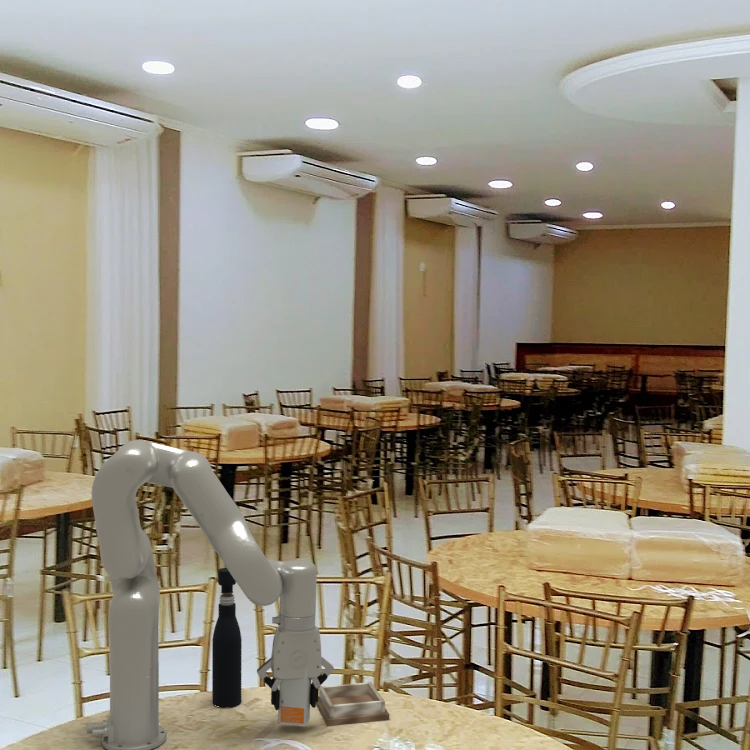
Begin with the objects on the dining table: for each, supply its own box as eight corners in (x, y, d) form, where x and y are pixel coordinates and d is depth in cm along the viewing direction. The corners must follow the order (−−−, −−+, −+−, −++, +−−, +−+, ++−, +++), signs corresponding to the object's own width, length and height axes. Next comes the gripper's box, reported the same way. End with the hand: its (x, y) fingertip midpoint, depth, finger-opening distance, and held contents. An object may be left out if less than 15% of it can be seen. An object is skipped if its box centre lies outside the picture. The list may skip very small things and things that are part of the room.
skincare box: (277, 724, 192) (279, 666, 192) (282, 716, 197) (284, 660, 196) (306, 727, 192) (308, 669, 191) (310, 719, 196) (312, 662, 196)
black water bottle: (235, 709, 205) (235, 573, 204) (207, 706, 206) (208, 572, 205) (245, 698, 211) (245, 566, 210) (218, 696, 212) (218, 565, 211)
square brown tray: (327, 725, 196) (327, 708, 196) (314, 702, 209) (314, 685, 209) (389, 719, 199) (389, 702, 199) (373, 696, 213) (373, 680, 212)
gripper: (257, 628, 188) (255, 716, 188) (341, 625, 192) (339, 710, 193) (253, 618, 195) (250, 702, 195) (334, 615, 199) (331, 697, 200)
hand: (294, 705), depth 194 cm, fingers closed on skincare box, 7 cm apart
